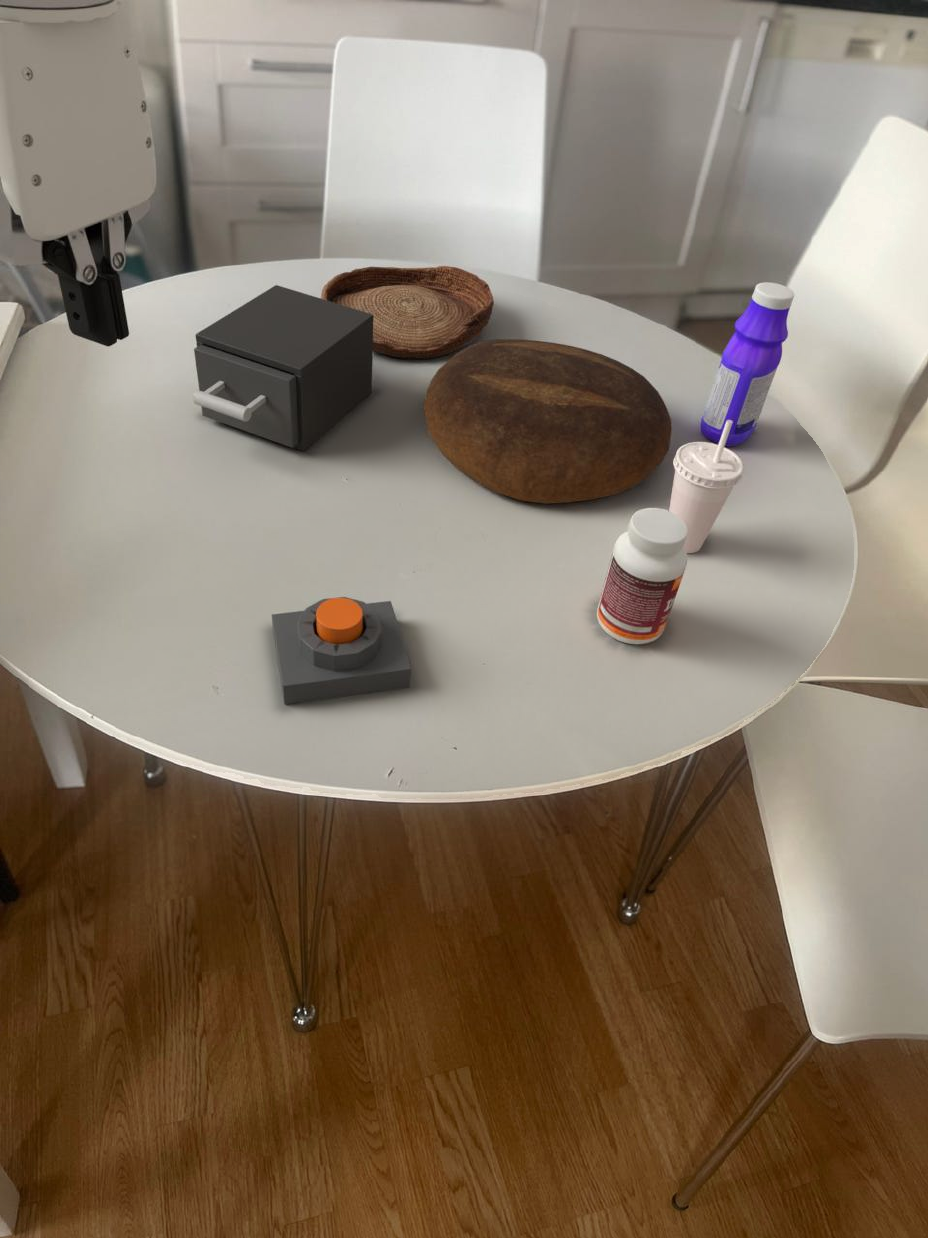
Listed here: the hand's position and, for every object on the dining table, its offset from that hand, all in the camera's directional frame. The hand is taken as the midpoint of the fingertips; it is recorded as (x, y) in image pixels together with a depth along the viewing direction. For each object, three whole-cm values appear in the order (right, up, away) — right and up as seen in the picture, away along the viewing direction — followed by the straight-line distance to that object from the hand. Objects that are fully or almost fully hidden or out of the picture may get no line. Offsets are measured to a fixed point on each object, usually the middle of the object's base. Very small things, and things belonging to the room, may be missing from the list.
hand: (100, 334), depth 54 cm
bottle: (+53, +4, +50) cm, 73 cm away
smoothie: (+44, -10, +34) cm, 57 cm away
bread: (+31, +3, +46) cm, 56 cm away
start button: (+12, -18, +16) cm, 27 cm away
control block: (+12, -21, +19) cm, 30 cm away
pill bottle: (+37, -18, +25) cm, 48 cm away
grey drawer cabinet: (+3, +7, +46) cm, 47 cm away
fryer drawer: (+1, +5, +43) cm, 43 cm away
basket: (+14, +21, +63) cm, 68 cm away
